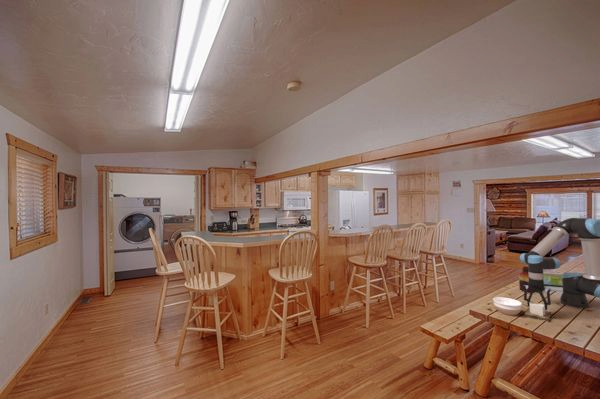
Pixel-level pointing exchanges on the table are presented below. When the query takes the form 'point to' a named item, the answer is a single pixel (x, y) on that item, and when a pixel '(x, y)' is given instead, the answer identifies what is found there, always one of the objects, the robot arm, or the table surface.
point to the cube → (537, 309)
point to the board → (534, 316)
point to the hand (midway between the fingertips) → (537, 312)
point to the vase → (524, 279)
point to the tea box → (553, 280)
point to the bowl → (507, 305)
